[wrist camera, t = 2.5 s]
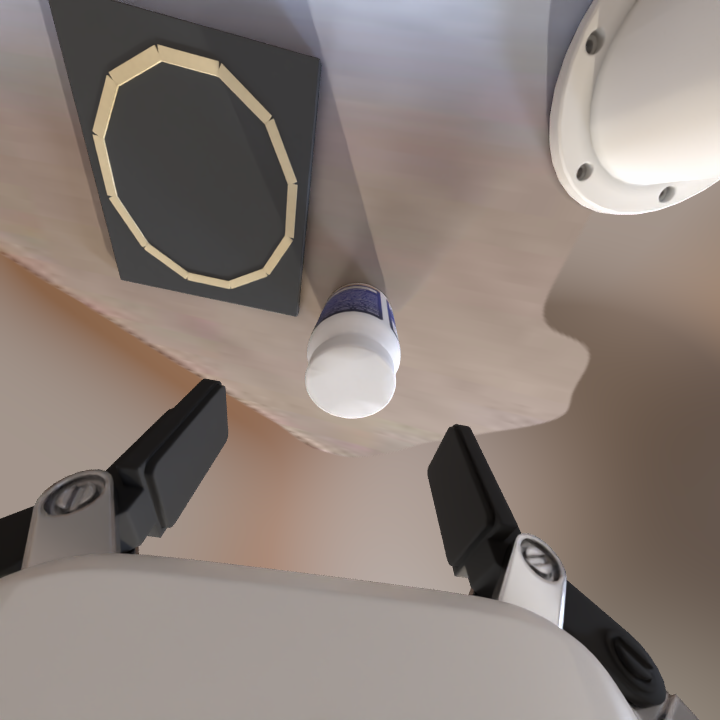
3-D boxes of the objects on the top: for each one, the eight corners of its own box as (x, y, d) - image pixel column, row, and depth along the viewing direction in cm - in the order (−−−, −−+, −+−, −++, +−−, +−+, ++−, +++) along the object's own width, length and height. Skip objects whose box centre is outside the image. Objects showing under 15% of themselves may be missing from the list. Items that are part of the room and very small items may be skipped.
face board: (321, 63, 14) (319, 57, 14) (298, 314, 22) (296, 317, 21) (55, -12, 13) (39, -23, 13) (126, 278, 21) (119, 280, 20)
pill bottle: (311, 320, 22) (272, 390, 13) (352, 265, 20) (337, 308, 11) (363, 357, 24) (358, 441, 15) (407, 311, 21) (431, 380, 13)
